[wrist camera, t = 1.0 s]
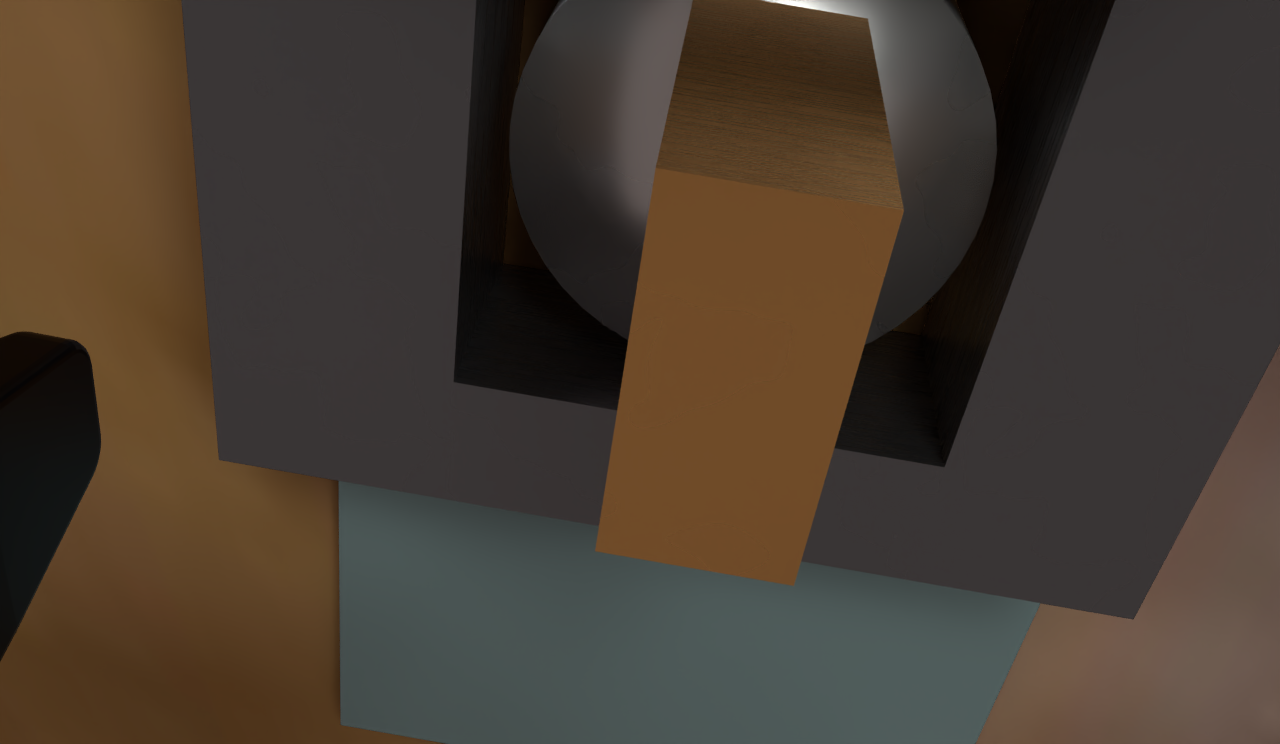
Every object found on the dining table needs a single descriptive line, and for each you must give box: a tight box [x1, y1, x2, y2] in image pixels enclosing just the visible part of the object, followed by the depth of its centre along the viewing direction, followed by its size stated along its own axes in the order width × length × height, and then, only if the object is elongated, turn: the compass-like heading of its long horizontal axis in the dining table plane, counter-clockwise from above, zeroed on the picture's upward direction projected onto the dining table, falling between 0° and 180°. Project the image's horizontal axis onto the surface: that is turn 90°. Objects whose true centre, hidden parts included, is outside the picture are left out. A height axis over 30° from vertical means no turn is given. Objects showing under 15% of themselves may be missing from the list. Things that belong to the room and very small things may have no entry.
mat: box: [339, 481, 1040, 744], centre depth 27 cm, size 15×10×1 cm, turn 82°
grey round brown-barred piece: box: [509, 0, 997, 586], centre depth 16 cm, size 7×7×9 cm
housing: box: [182, 0, 1280, 619], centre depth 18 cm, size 16×13×4 cm
